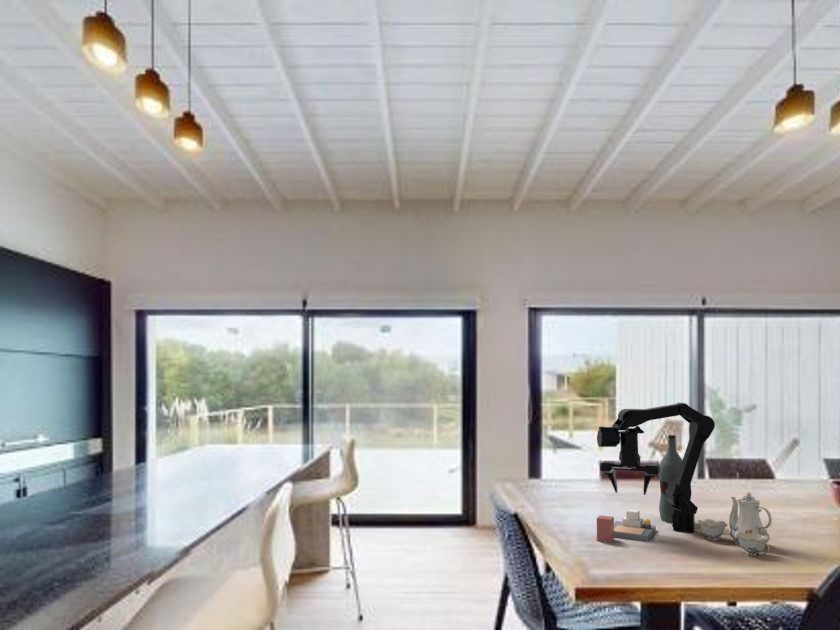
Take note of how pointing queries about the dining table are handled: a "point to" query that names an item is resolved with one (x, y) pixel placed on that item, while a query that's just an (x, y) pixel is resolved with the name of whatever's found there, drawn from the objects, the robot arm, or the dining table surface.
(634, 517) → the block
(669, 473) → the bottle
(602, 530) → the red rectangular block
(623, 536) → the panel
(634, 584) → the dining table surface
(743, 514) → the chinaware
